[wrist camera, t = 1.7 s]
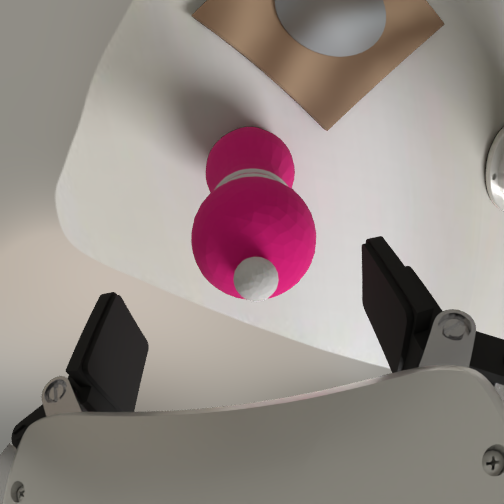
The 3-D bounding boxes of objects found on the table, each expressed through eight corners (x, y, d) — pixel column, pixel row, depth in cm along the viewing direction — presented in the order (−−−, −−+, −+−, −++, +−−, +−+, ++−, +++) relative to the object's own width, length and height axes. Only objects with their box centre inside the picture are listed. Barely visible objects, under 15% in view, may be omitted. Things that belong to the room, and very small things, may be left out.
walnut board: (437, 25, 20) (446, 23, 19) (323, 128, 27) (328, 131, 26) (325, -83, 15) (329, -91, 13) (194, 18, 21) (190, 14, 20)
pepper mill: (223, 112, 26) (180, 175, 9) (297, 135, 28) (384, 236, 10) (202, 182, 30) (151, 334, 13) (273, 202, 31) (305, 365, 14)
